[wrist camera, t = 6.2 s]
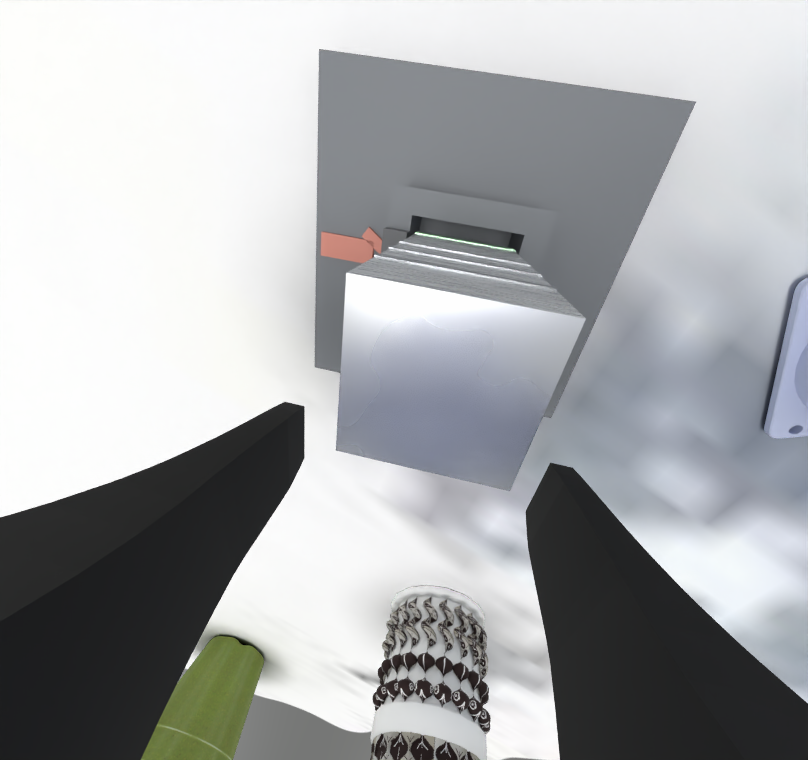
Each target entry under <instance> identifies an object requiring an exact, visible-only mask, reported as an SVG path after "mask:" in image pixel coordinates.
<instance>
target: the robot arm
mask: <svg viewBox="0 0 808 760" xmlns="http://www.w3.org/2000/svg"><path fill="white" fill-rule="evenodd" d="M793 426H794V427H793ZM791 427H793V428H791ZM790 428H791V429H790ZM764 431H765V432H766V433H767V434H768V435H769V436H770V437H772V438H775V439H781V438H791V437H802V436H808V277H807V278H805V279H804V280H802V281H801V282H800V283H799V284H798V285H797V286H796V289H795V291H794V295H793V300H792V304H791V309H790V313H789V318H788V322H787V327H786V331H785V336H784V340H783V345H782V350H781V354H780V359H779V363H778V368H777V372H776V377H775V381H774V386H773V390H772V395H771V399H770V404H769V408H768V413H767V417H766V422H765V426H764ZM303 460H304V406H300V405H296V404H292V403H287V402H284V403H282V404H280V405H277V406H276V407H274V408H272V409H270V410H268V411H266V412H264V413H262V414H260V415H258V416H257V417H255V418H253V419H251V420H249V421H247V422H245V423H243V424H241V425H240V426H238V427H236V428H234V429H232V430H230V431H228V432H226V433H224V434H222V435H220V436H218V437H216V438H214V439H212V440H210V441H208V442H206V443H204V444H201V445H199V446H197V447H195V448H193V449H191V450H189V451H187V452H184V453H182V454H180V455H178V456H176V457H174V458H171V459H169V460H167V461H164V462H162V463H160V464H157V465H155V466H152V467H150V468H147V469H145V470H142V471H140V472H137V473H135V474H132V475H129V476H127V477H124V478H122V479H119V480H116V481H114V482H111V483H108V484H105V485H102V486H99V487H96V488H93V489H90V490H87V491H84V492H81V493H78V494H75V495H72V496H69V497H66V498H63V499H60V500H57V501H54V502H51V503H48V504H45V505H41V506H38V507H35V508H31V509H28V510H25V511H21V512H18V513H15V514H11V515H8V516H4V517H0V760H141V758H142V756H143V754H144V752H145V750H146V747H147V745H148V743H149V741H150V739H151V737H152V734H153V732H154V730H155V728H156V726H157V724H158V722H159V719H160V717H161V715H162V713H163V711H164V709H165V707H166V705H167V703H168V701H169V699H170V697H171V695H172V693H173V691H174V689H175V687H176V685H177V683H178V681H179V678H180V676H181V674H182V672H183V670H184V668H185V666H186V664H187V662H188V660H189V658H190V656H191V654H192V652H193V650H194V649H195V647H196V645H197V643H198V641H199V639H200V637H201V635H202V633H203V631H204V629H205V627H206V625H207V623H208V621H209V619H210V618H211V616H212V614H213V612H214V610H215V608H216V606H217V604H218V603H219V601H220V599H221V597H222V595H223V593H224V591H225V590H226V588H227V586H228V584H229V582H230V580H231V578H232V577H233V575H234V573H235V572H236V570H237V568H238V567H239V565H240V563H241V562H242V560H243V558H244V557H245V555H246V554H247V552H248V551H249V549H250V548H251V546H252V545H253V543H254V542H255V540H256V539H257V537H258V536H259V534H260V533H261V531H262V530H263V528H264V527H265V525H266V524H267V522H268V520H269V519H270V517H271V516H272V514H273V513H274V511H275V510H276V508H277V507H278V505H279V504H280V502H281V501H282V499H283V498H284V496H285V494H286V493H287V491H288V490H289V488H290V486H291V484H292V482H293V480H294V478H295V476H296V474H297V472H298V470H299V468H300V466H301V464H302V462H303ZM526 525H527V539H528V549H529V554H530V560H531V565H532V570H533V575H534V580H535V585H536V590H537V595H538V600H539V605H540V610H541V615H542V620H543V625H544V630H545V634H546V640H547V646H548V652H549V658H550V665H551V674H552V683H553V692H554V701H555V710H556V720H557V731H558V742H559V753H560V760H808V703H806V702H805V701H804V700H803V699H802V698H801V697H800V696H798V695H797V694H796V693H795V692H794V691H793V690H791V689H790V688H789V687H788V686H787V685H786V684H785V683H783V682H782V681H781V680H780V679H779V678H778V677H776V676H775V675H774V674H773V673H772V672H771V671H770V670H768V669H767V668H766V667H765V666H764V665H763V664H762V663H760V662H759V661H758V660H757V659H756V658H755V657H754V656H753V655H752V654H750V653H749V652H748V651H747V650H746V649H745V648H744V647H743V646H742V645H740V644H739V643H738V642H737V641H736V640H735V639H734V638H733V637H732V636H731V635H730V634H729V633H728V632H727V631H725V630H724V629H723V628H722V627H721V626H720V625H719V624H718V623H717V622H716V621H715V620H714V619H713V618H712V617H711V616H710V615H709V614H708V613H706V612H705V611H704V610H703V609H702V608H701V607H700V606H699V605H698V604H697V603H696V602H695V601H694V600H693V599H692V598H691V597H690V596H689V595H688V594H687V593H686V592H685V591H684V590H683V589H682V588H681V587H680V586H679V585H678V584H677V583H676V582H675V581H674V580H673V579H672V578H671V577H670V576H669V575H668V574H667V572H666V571H665V570H664V569H663V568H662V567H661V566H660V565H659V564H658V563H657V562H656V561H655V560H654V559H653V558H652V557H651V556H650V555H649V553H648V552H647V551H646V550H645V549H644V548H643V547H642V546H641V545H640V544H639V543H638V541H637V540H636V539H635V538H634V537H633V536H632V535H631V534H630V533H629V531H628V530H627V529H626V528H625V527H624V526H623V525H622V523H621V522H620V521H619V520H618V519H617V518H616V517H615V515H614V514H613V513H612V512H611V511H610V510H609V508H608V507H607V506H606V505H605V504H604V503H603V502H602V500H601V499H600V498H599V497H598V496H597V495H596V493H595V492H594V491H593V490H592V489H591V488H590V486H589V485H588V484H587V483H586V482H585V481H584V480H583V478H582V477H581V476H580V475H579V474H578V473H577V472H576V471H575V470H574V469H573V468H571V467H567V466H562V465H558V464H554V463H550V465H549V467H548V469H547V471H546V473H545V475H544V477H543V478H542V480H541V482H540V484H539V486H538V488H537V490H536V492H535V494H534V496H533V498H532V500H531V502H530V504H529V506H528V508H527V510H526Z"/></svg>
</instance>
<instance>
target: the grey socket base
mask: <svg viewBox="0 0 808 760" xmlns="http://www.w3.org/2000/svg"><path fill="white" fill-rule="evenodd" d="M695 103H696V102H694V101H687V100H680V99H673V98H665V97H658V96H651V95H644V94H637V93H630V92H622V91H615V90H608V89H601V88H594V87H587V86H580V85H572V84H565V83H558V82H551V81H544V80H537V79H530V78H522V77H515V76H508V75H501V74H494V73H487V72H479V71H472V70H465V69H458V68H451V67H444V66H437V65H429V64H422V63H415V62H408V61H401V60H394V59H387V58H379V57H372V56H365V55H358V54H351V53H344V52H337V51H329V50H322V49H319V98H318V170H317V241H316V313H315V367H316V368H321V369H326V370H330V371H335V372H341V355H342V338H343V321H344V304H345V287H346V273H347V272H349V271H350V270H352V269H354V268H356V267H357V266H359V265H361V264H363V263H364V262H366V261H368V260H370V259H371V258H373V257H374V255H375V254H380V253H382V252H384V251H386V250H387V249H389V247H390V246H394V245H396V244H398V243H399V242H400V241H403V240H405V239H407V238H408V237H410V236H412V235H414V234H415V232H417V231H420V232H425V233H431V234H437V235H442V236H448V237H453V238H459V239H465V240H470V241H476V242H481V243H487V244H493V245H498V246H504V247H509V248H513V249H514V250H516V251H515V252H516V253H517V254H518V255H519V256H520V257H521V258H522V259H524V260H525V261H526V262H527V263H528V264H531V267H532V268H533V269H534V270H535V271H536V272H537V273H541V274H542V277H543V278H544V279H545V280H546V281H547V282H548V283H549V284H550V285H551V286H553V287H556V288H557V292H558V293H559V294H561V295H562V296H563V297H564V298H565V299H566V300H567V301H568V302H569V303H570V304H571V305H572V306H573V307H574V308H575V309H576V310H577V311H578V312H580V313H581V314H582V315H583V316H584V317H585V318H586V320H585V322H584V324H583V327H582V329H581V331H580V333H579V336H578V338H577V340H576V342H575V345H574V347H573V349H572V352H571V354H570V356H569V358H568V361H567V363H566V365H565V367H564V370H563V372H562V374H561V376H560V379H559V381H558V383H557V385H556V388H555V390H554V392H553V394H552V397H551V399H550V401H549V404H548V406H547V408H546V410H545V413H544V415H543V416H544V417H549V418H551V417H552V415H553V413H554V410H555V408H556V406H557V404H558V402H559V399H560V397H561V395H562V393H563V391H564V389H565V386H566V384H567V382H568V380H569V378H570V375H571V373H572V371H573V369H574V367H575V365H576V362H577V360H578V358H579V356H580V354H581V352H582V349H583V347H584V345H585V343H586V341H587V338H588V336H589V334H590V332H591V330H592V328H593V325H594V323H595V321H596V319H597V317H598V314H599V312H600V310H601V308H602V306H603V304H604V301H605V299H606V297H607V295H608V293H609V290H610V288H611V286H612V284H613V282H614V280H615V277H616V275H617V273H618V271H619V269H620V267H621V264H622V262H623V260H624V258H625V256H626V253H627V251H628V249H629V247H630V245H631V243H632V240H633V238H634V236H635V234H636V232H637V229H638V227H639V225H640V223H641V221H642V219H643V216H644V214H645V212H646V210H647V208H648V206H649V203H650V201H651V199H652V197H653V195H654V192H655V190H656V188H657V186H658V184H659V182H660V179H661V177H662V175H663V173H664V171H665V168H666V166H667V164H668V162H669V160H670V158H671V155H672V153H673V151H674V149H675V147H676V144H677V142H678V140H679V138H680V136H681V134H682V131H683V129H684V127H685V125H686V123H687V121H688V118H689V116H690V114H691V112H692V110H693V107H694V105H695Z"/></svg>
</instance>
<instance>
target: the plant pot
mask: <svg viewBox="0 0 808 760" xmlns="http://www.w3.org/2000/svg"><path fill="white" fill-rule="evenodd" d="M263 664H264V659H263V657H262V655H261V654H260V653H259V652H258V651H257V649H256V648H254V647H253V646H250V645H246V646H245V645H242V644H240V643H239V641H238V640H237V639H235V638H233V637H224V636H217V637H214V638H212V639H211V640H210V642H209V643H208V644H207V645H206V647H205V648H204V649H203V650H202V652H201V653H200V654H199V656H198V657H197V658H196V660H195V661H194V662H193V663H192V665H191V666H190V667H189V669H188V670H187V671H186V673H185V674H184V675H183V677H182V678H181V679H180V680H179V682H178V683H177V685H176V687H175V689H174V691H173V693H172V695H171V697H170V699H169V701H168V703H167V705H166V707H165V709H164V711H163V713H162V715H161V717H160V719H159V722H158V724H157V726H156V728H155V730H154V732H153V734H152V737H151V739H150V741H149V743H148V745H147V747H146V750H145V752H144V754H143V756H142V758H141V760H233V758H234V754H235V751H236V747H237V745H238V742H239V738H240V735H241V732H242V729H243V726H244V723H245V720H246V717H247V714H248V711H249V707H250V705H251V701H252V698H253V695H254V692H255V689H256V686H257V683H258V680H259V677H260V674H261V671H262V667H263Z"/></svg>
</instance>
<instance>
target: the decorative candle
mask: <svg viewBox="0 0 808 760" xmlns="http://www.w3.org/2000/svg"><path fill="white" fill-rule="evenodd" d="M391 609H392V613H391V615H390V618H391V620H389V621H387V628H388V629H389V632H388V634H387V635H386V639H387V640H385V641H384V642H383V644H382V647H383V649H384V651H385V653H384V657H385V659H386V660H384V661H383V663H382V666H381V667H380V668H379V669H378V676H379V678H380V684H381V685H380V686H379V687H378V689H377V692H375V693H374V695H373V703H374V705H375V710H376V712H375V716H374V721H373V727H372V732H371V738H370V740H371V743H372V752H371V759H370V760H487V750H486V734H487V733H488V732H489V730H490V715H489V713H488V712H487V711H486V710H485V709H484V708H483V707H482V706H483V705H484V704H486V703H487V702H488V699H489V696H488V693H489V688H488V686H487V684H486V683H485V682H483V681H482V679H483V678H484V677H485V676H486V674H487V671H488V658H487V655H486V653H485V650H486V646H487V644H486V641H487V636H486V633H485V631H484V622H485V615H484V613H483V612H482V610H481V609H480V607H479V605H478V604H477V603H475V602H474V601H472V600H471V599H470V598H468V597H467V596H465V595H464V594H461V593H459V592H456V591H453V590H450V589H448V588H443V587H436V586H428V585H425V586H416V587H409V588H407V589H405V590H403V591H401V592H399V593H397V594H396V596H395V598H394V599H393V601H392V603H391ZM478 637H479V638H478Z"/></svg>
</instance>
